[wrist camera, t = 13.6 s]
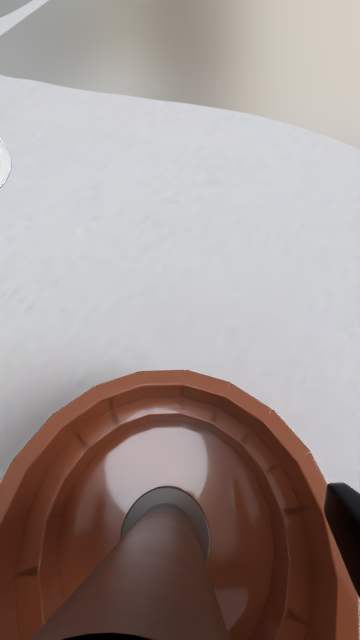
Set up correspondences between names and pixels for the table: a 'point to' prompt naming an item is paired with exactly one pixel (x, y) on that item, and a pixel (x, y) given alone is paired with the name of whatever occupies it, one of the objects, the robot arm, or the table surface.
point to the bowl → (195, 478)
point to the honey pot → (4, 163)
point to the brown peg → (148, 579)
